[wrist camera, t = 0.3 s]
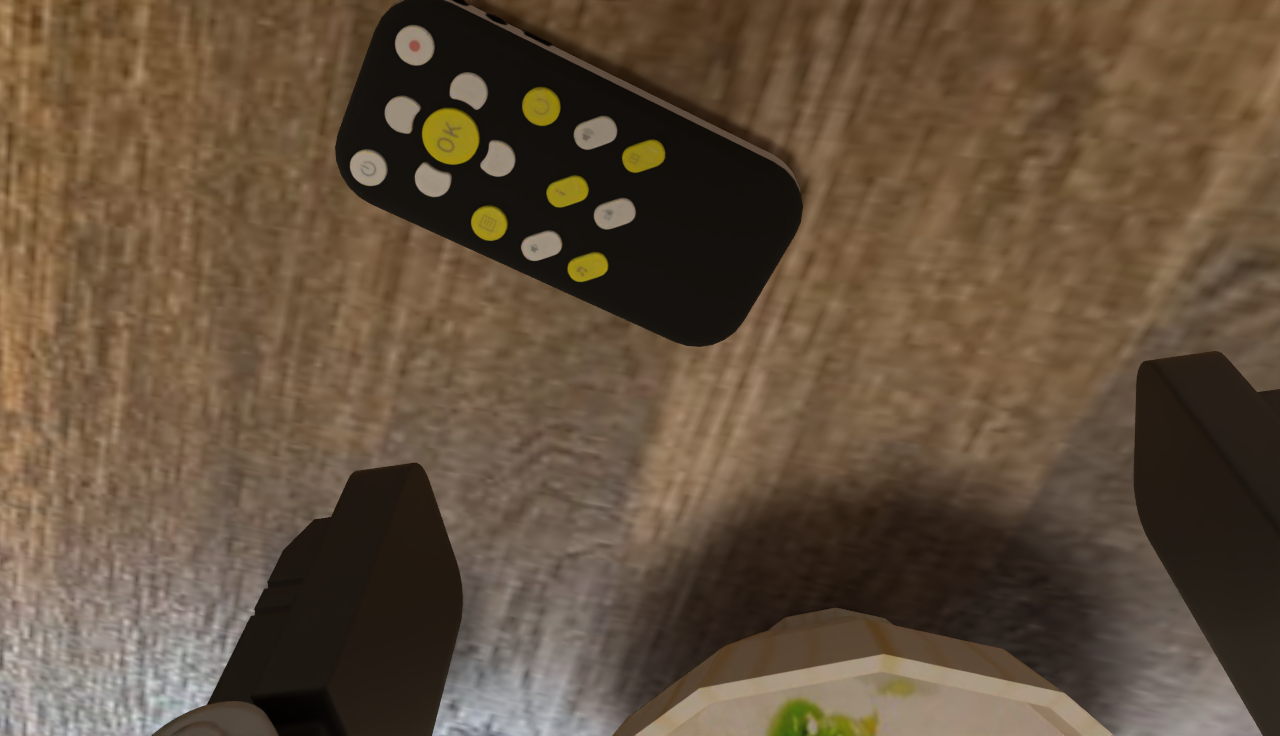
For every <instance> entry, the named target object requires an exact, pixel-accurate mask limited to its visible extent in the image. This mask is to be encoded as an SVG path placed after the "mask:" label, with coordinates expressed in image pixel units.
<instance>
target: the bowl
mask: <svg viewBox="0 0 1280 736" xmlns="http://www.w3.org/2000/svg"><path fill="white" fill-rule="evenodd" d="M613 736H1114V735H1113V734H1111V733H1110V732H1109V731H1108V730H1107V729H1106V728H1104V727H1103V726H1102V725H1101V724H1100V723H1099V722H1098V721H1096V720H1095V719H1094V718H1093V717H1092V716H1091V715H1089V714H1088V713H1087V712H1086V711H1085V710H1084V709H1082V708H1081V707H1080V706H1079V705H1078V704H1077V703H1076V702H1074V701H1073V700H1072V699H1071V698H1070V697H1069V696H1067V695H1066V694H1065V693H1064V692H1062V691H1061V690H1060V689H1058V688H1057V687H1056V686H1054V685H1053V684H1051V683H1050V682H1049V681H1047V680H1046V679H1044V678H1043V677H1042V676H1040V675H1039V674H1037V673H1036V672H1035V671H1033V670H1032V669H1031V668H1029V667H1028V666H1026V665H1025V664H1024V663H1022V662H1021V661H1019V660H1018V659H1017V658H1015V657H1014V656H1013V655H1011V654H1010V653H1008V652H1007V651H1006V650H1004V649H1001V648H996V647H991V646H987V645H982V644H978V643H973V642H968V641H964V640H959V639H955V638H950V637H945V636H941V635H936V634H932V633H927V632H922V631H918V630H913V629H909V628H904V627H899V626H895V625H893V624H892V623H890V622H889V621H888V620H887V619H886V618H881V617H877V616H872V615H868V614H863V613H858V612H854V611H849V610H845V609H840V608H831V609H826V610H821V611H816V612H810V613H805V614H800V615H795V616H790V617H785V618H784V619H782V620H781V621H779V622H778V623H777V624H775V625H774V626H773V627H771V628H770V629H769V630H767V631H766V632H761V633H758V634H755V635H752V636H750V637H747V638H745V639H742V640H739V641H737V642H734V643H731V644H729V645H726V646H724V647H722V648H721V649H720V650H718V651H717V652H716V653H714V654H713V655H712V656H710V657H709V658H708V659H706V660H705V661H704V662H702V663H701V664H700V665H698V666H697V667H696V668H694V669H693V670H691V671H690V672H689V673H687V674H686V675H685V676H683V677H682V678H681V679H679V680H678V681H677V682H675V683H674V684H673V685H671V686H670V687H669V688H667V689H666V690H665V691H663V692H662V693H660V694H659V695H658V696H656V697H655V698H654V699H652V700H651V701H650V702H648V703H647V704H646V705H644V706H643V707H642V708H640V709H639V710H638V711H636V712H635V713H633V714H632V715H631V716H629V717H628V718H627V719H626V720H625V721H624V723H623V724H622V725H621V726H620V727H619V729H618V730H617V731H616V732H615V733H614V734H613Z"/></svg>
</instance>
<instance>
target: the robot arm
mask: <svg viewBox="0 0 1280 736" xmlns="http://www.w3.org/2000/svg"><path fill="white" fill-rule="evenodd" d="M1134 492H1135V499H1136V505H1137V509H1138V514H1139V517H1140V520H1141V523H1142V526H1143V529H1144V531H1145V534H1146V536H1147V538H1148V539H1149V541H1150V543H1151V545H1152V546H1153V548H1154V550H1155V551H1156V553H1157V555H1158V557H1159V558H1160V560H1161V562H1162V563H1163V565H1164V567H1165V569H1166V570H1167V572H1168V574H1169V575H1170V577H1171V579H1172V581H1173V582H1174V584H1175V586H1176V587H1177V589H1178V591H1179V593H1180V594H1181V596H1182V598H1183V599H1184V601H1185V603H1186V605H1187V606H1188V608H1189V610H1190V611H1191V613H1192V615H1193V617H1194V618H1195V620H1196V622H1197V623H1198V625H1199V627H1200V629H1201V630H1202V632H1203V634H1204V635H1205V637H1206V639H1207V641H1208V642H1209V644H1210V646H1211V647H1212V649H1213V651H1214V653H1215V654H1216V656H1217V658H1218V659H1219V661H1220V663H1221V665H1222V666H1223V668H1224V670H1225V671H1226V673H1227V675H1228V677H1229V678H1230V680H1231V682H1232V683H1233V685H1234V687H1235V689H1236V690H1237V692H1238V694H1239V695H1240V697H1241V699H1242V701H1243V702H1244V704H1245V706H1246V707H1247V709H1248V711H1249V713H1250V714H1251V716H1252V718H1253V719H1254V721H1255V723H1256V725H1257V726H1258V728H1259V730H1260V731H1261V733H1262V735H1263V736H1280V389H1278V390H1270V391H1263V392H1256V390H1255V389H1254V388H1253V387H1252V386H1251V385H1250V384H1249V383H1248V381H1247V380H1246V379H1245V378H1244V377H1243V376H1242V375H1241V373H1240V372H1239V371H1238V370H1237V369H1236V368H1235V367H1234V366H1233V364H1232V363H1231V362H1230V361H1229V360H1228V359H1227V358H1226V357H1225V356H1224V355H1223V354H1222V353H1220V352H1218V351H1212V352H1205V353H1198V354H1191V355H1184V356H1177V357H1170V358H1163V359H1156V360H1149V361H1144V362H1143V363H1142V364H1141V365H1140V367H1139V370H1138V374H1137V384H1136V416H1135V449H1134ZM267 583H268V588H267V589H264V591H263V593H262V595H261V597H260V599H259V601H258V603H257V605H256V607H255V609H254V610H255V615H254V616H251V617H250V619H249V621H248V623H247V625H246V627H245V629H244V631H243V633H242V635H241V637H240V639H239V641H238V643H237V645H236V647H235V649H234V651H233V653H232V655H231V657H230V659H229V661H228V663H227V665H226V667H225V669H224V671H223V673H222V675H221V677H220V680H219V682H218V684H217V686H216V688H215V690H214V692H213V694H212V696H211V698H210V700H209V702H208V704H207V705H205V706H202V707H199V708H197V709H194V710H192V711H189V712H187V713H185V714H183V715H181V716H179V717H177V718H175V719H174V720H172V721H171V722H169V723H167V724H166V725H164V726H163V727H162V728H160V729H159V730H158V731H156V732H155V733H154V734H153V735H152V736H432V733H433V729H434V725H435V721H436V718H437V714H438V710H439V706H440V702H441V698H442V694H443V690H444V686H445V682H446V678H447V674H448V670H449V666H450V662H451V658H452V654H453V650H454V646H455V642H456V638H457V634H458V630H459V627H460V623H461V618H462V608H463V594H462V583H461V577H460V572H459V568H458V564H457V561H456V558H455V555H454V552H453V549H452V547H451V544H450V541H449V538H448V535H447V532H446V529H445V526H444V523H443V520H442V517H441V514H440V511H439V508H438V505H437V502H436V499H435V496H434V493H433V491H432V488H431V485H430V482H429V479H428V476H427V474H426V472H425V470H424V469H423V467H422V466H421V465H420V464H418V463H409V464H402V465H395V466H388V467H381V468H374V469H367V470H360V471H355V472H353V473H352V474H351V475H350V477H349V479H348V481H347V483H346V485H345V488H344V490H343V492H342V494H341V496H340V499H339V501H338V503H337V505H336V507H335V510H334V512H333V514H332V516H331V517H329V518H321V519H314V520H313V521H312V522H311V523H310V524H309V525H308V526H307V527H306V528H305V529H304V530H303V531H302V532H301V533H300V534H299V535H298V536H297V537H296V538H295V539H294V540H293V541H292V542H291V543H290V544H289V545H288V546H287V547H286V548H285V549H284V550H283V552H282V554H281V556H280V558H279V560H278V562H277V564H276V566H275V568H274V570H273V572H272V574H271V576H270V578H269V580H268V582H267Z"/></svg>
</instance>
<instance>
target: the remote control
mask: <svg viewBox="0 0 1280 736" xmlns="http://www.w3.org/2000/svg"><path fill="white" fill-rule="evenodd" d="M335 150H336V161H337V164H338V167H339V170H340V173H341V175H342V177H343V179H344V180H345V182H346V183H347V185H348V186H349V188H350V189H351V190H353V191H354V192H355V193H356V194H357V195H358V196H359V197H360V198H362V199H363V200H365V201H367V202H368V203H370V204H372V205H374V206H376V207H379V208H381V209H383V210H385V211H387V212H390V213H392V214H394V215H396V216H398V217H401V218H403V219H405V220H407V221H409V222H412V223H414V224H416V225H418V226H420V227H423V228H425V229H427V230H429V231H431V232H434V233H436V234H438V235H440V236H442V237H445V238H447V239H449V240H451V241H453V242H456V243H458V244H460V245H462V246H464V247H467V248H469V249H471V250H473V251H475V252H478V253H480V254H482V255H484V256H487V257H489V258H491V259H493V260H495V261H498V262H500V263H502V264H504V265H506V266H509V267H511V268H513V269H515V270H517V271H520V272H522V273H524V274H526V275H528V276H531V277H533V278H535V279H537V280H539V281H542V282H544V283H546V284H548V285H550V286H553V287H555V288H557V289H559V290H561V291H564V292H566V293H568V294H570V295H572V296H575V297H577V298H579V299H581V300H583V301H586V302H588V303H590V304H592V305H595V306H597V307H599V308H601V309H603V310H606V311H608V312H610V313H612V314H614V315H617V316H619V317H621V318H623V319H625V320H628V321H630V322H632V323H634V324H636V325H639V326H641V327H643V328H645V329H647V330H650V331H652V332H654V333H656V334H658V335H661V336H663V337H665V338H667V339H669V340H672V341H674V342H677V343H680V344H683V345H686V346H696V347H702V346H708V345H713V344H716V343H718V342H720V341H723V340H725V339H726V338H727V337H729V336H730V335H731V334H733V333H734V332H736V330H737V329H738V328H739V327H740V325H741V324H742V323H743V322H744V320H745V318H746V316H747V315H748V313H749V311H750V310H751V308H752V306H753V305H754V303H755V301H756V300H757V298H758V296H759V295H760V293H761V291H762V290H763V288H764V286H765V285H766V283H767V281H768V280H769V278H770V276H771V275H772V273H773V271H774V270H775V268H776V266H777V265H778V263H779V261H780V259H781V258H782V256H783V254H784V253H785V251H786V249H787V248H788V246H789V244H790V243H791V241H792V239H793V238H794V236H795V234H796V232H797V230H798V227H799V225H800V223H801V217H802V209H803V204H802V197H801V191H800V187H799V185H798V182H797V180H796V178H795V176H794V174H793V172H792V171H791V170H790V169H789V167H788V166H787V165H786V164H785V163H784V162H783V161H782V160H780V159H779V158H777V157H776V156H774V155H773V154H771V153H769V152H767V151H765V150H763V149H761V148H759V147H757V146H755V145H753V144H751V143H749V142H747V141H745V140H742V139H740V138H738V137H736V136H734V135H732V134H730V133H728V132H726V131H724V130H722V129H720V128H718V127H716V126H714V125H712V124H710V123H708V122H706V121H704V120H702V119H700V118H698V117H696V116H694V115H692V114H690V113H688V112H686V111H684V110H682V109H680V108H678V107H676V106H674V105H672V104H670V103H668V102H666V101H664V100H662V99H660V98H658V97H656V96H653V95H651V94H649V93H647V92H645V91H643V90H641V89H639V88H637V87H635V86H633V85H631V84H629V83H627V82H625V81H623V80H621V79H619V78H617V77H615V76H613V75H611V74H609V73H607V72H605V71H603V70H601V69H599V68H597V67H595V66H593V65H591V64H589V63H587V62H585V61H583V60H581V59H579V58H577V57H575V56H573V55H571V54H569V53H566V52H564V51H562V50H560V49H558V48H556V47H554V46H552V43H550V42H548V41H546V40H544V39H542V38H540V37H538V36H535V35H533V34H531V33H529V32H527V31H525V30H523V31H522V30H520V29H518V28H516V27H514V26H512V25H510V24H508V23H506V22H505V21H504V20H502V19H501V18H499V17H497V16H494V15H491V14H488V13H486V12H484V11H482V10H479V9H477V8H475V7H473V6H471V5H470V4H468V3H467V2H466V1H464V0H401V1H399V2H397V3H396V4H395V5H393V6H392V7H391V8H390V9H389V10H388V11H387V12H386V13H385V14H384V15H383V16H382V18H381V20H380V22H379V24H378V26H377V28H376V29H375V32H374V34H373V37H372V40H371V43H370V45H369V48H368V51H367V54H366V57H365V59H364V62H363V65H362V68H361V71H360V73H359V76H358V79H357V82H356V85H355V87H354V90H353V93H352V96H351V99H350V101H349V104H348V107H347V110H346V113H345V115H344V118H343V121H342V124H341V127H340V129H339V132H338V136H337V141H336V146H335Z"/></svg>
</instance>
